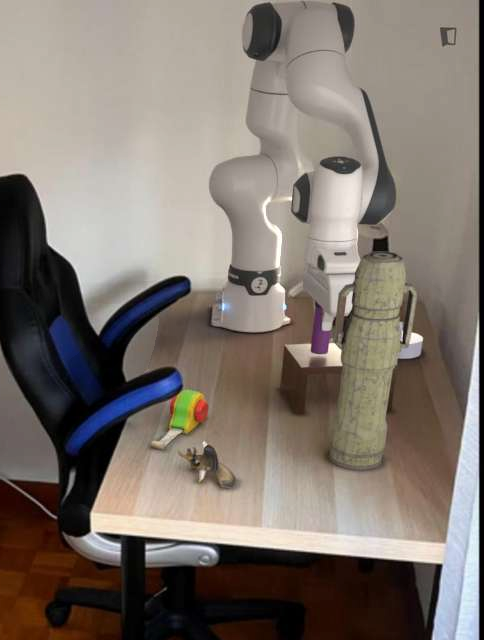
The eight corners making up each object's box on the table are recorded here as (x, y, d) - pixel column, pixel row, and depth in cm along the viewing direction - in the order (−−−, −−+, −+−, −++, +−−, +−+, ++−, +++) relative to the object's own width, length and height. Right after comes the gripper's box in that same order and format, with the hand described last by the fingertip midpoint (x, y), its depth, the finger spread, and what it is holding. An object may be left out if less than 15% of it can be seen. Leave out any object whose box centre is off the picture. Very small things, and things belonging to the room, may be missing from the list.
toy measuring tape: (217, 416, 185) (219, 384, 182) (171, 454, 171) (173, 419, 168) (186, 410, 188) (188, 378, 185) (139, 446, 174) (140, 412, 171)
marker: (307, 349, 187) (314, 287, 182) (325, 348, 187) (332, 287, 182) (312, 355, 184) (319, 292, 179) (330, 354, 184) (338, 292, 179)
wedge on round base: (356, 354, 213) (419, 360, 209) (360, 324, 210) (424, 330, 205) (360, 341, 220) (421, 347, 216) (364, 313, 217) (426, 317, 213)
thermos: (312, 449, 171) (335, 249, 155) (379, 446, 171) (409, 246, 155) (328, 471, 163) (354, 263, 147) (398, 468, 163) (431, 260, 147)
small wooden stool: (280, 389, 196) (284, 344, 192) (369, 386, 196) (375, 341, 192) (296, 414, 185) (301, 367, 180) (391, 411, 185) (398, 364, 180)
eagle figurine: (170, 474, 161) (212, 481, 155) (181, 432, 162) (225, 439, 155) (197, 485, 166) (239, 493, 160) (208, 445, 167) (251, 451, 160)
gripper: (298, 240, 186) (291, 310, 193) (328, 266, 168) (319, 343, 174) (331, 238, 186) (323, 309, 193) (365, 265, 168) (355, 342, 174)
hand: (322, 325), depth 183 cm, fingers closed on marker, 3 cm apart
